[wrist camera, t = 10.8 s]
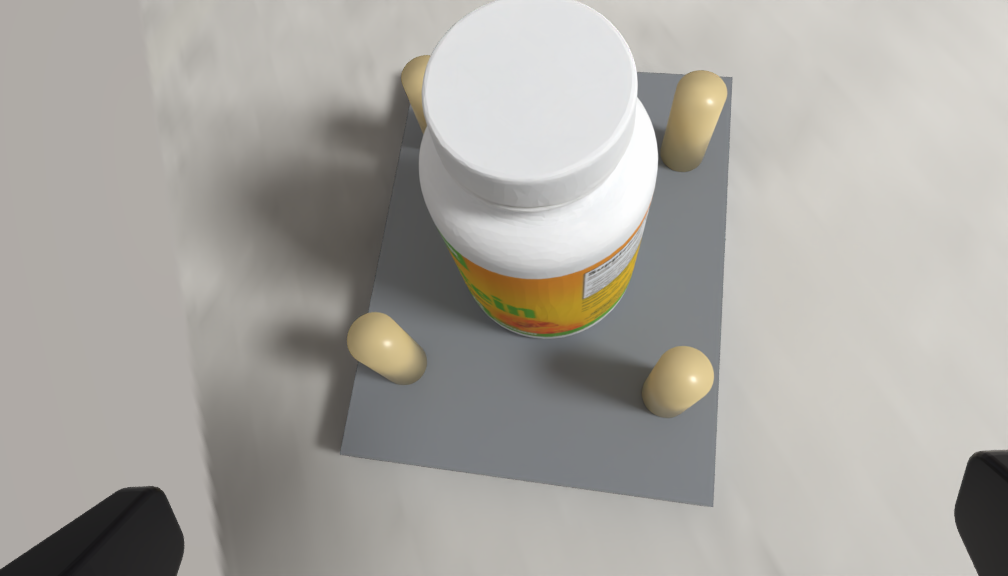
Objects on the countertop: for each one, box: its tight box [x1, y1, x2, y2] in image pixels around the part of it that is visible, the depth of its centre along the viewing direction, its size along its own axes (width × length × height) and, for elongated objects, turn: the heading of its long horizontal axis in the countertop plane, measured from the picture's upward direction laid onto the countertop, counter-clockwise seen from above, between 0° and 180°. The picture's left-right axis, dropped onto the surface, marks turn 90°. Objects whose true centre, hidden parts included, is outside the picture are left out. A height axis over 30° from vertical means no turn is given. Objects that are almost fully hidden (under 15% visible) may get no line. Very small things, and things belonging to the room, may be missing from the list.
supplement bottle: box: [419, 0, 658, 339], centre depth 17 cm, size 5×5×10 cm
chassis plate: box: [340, 55, 732, 507], centre depth 20 cm, size 14×11×5 cm
